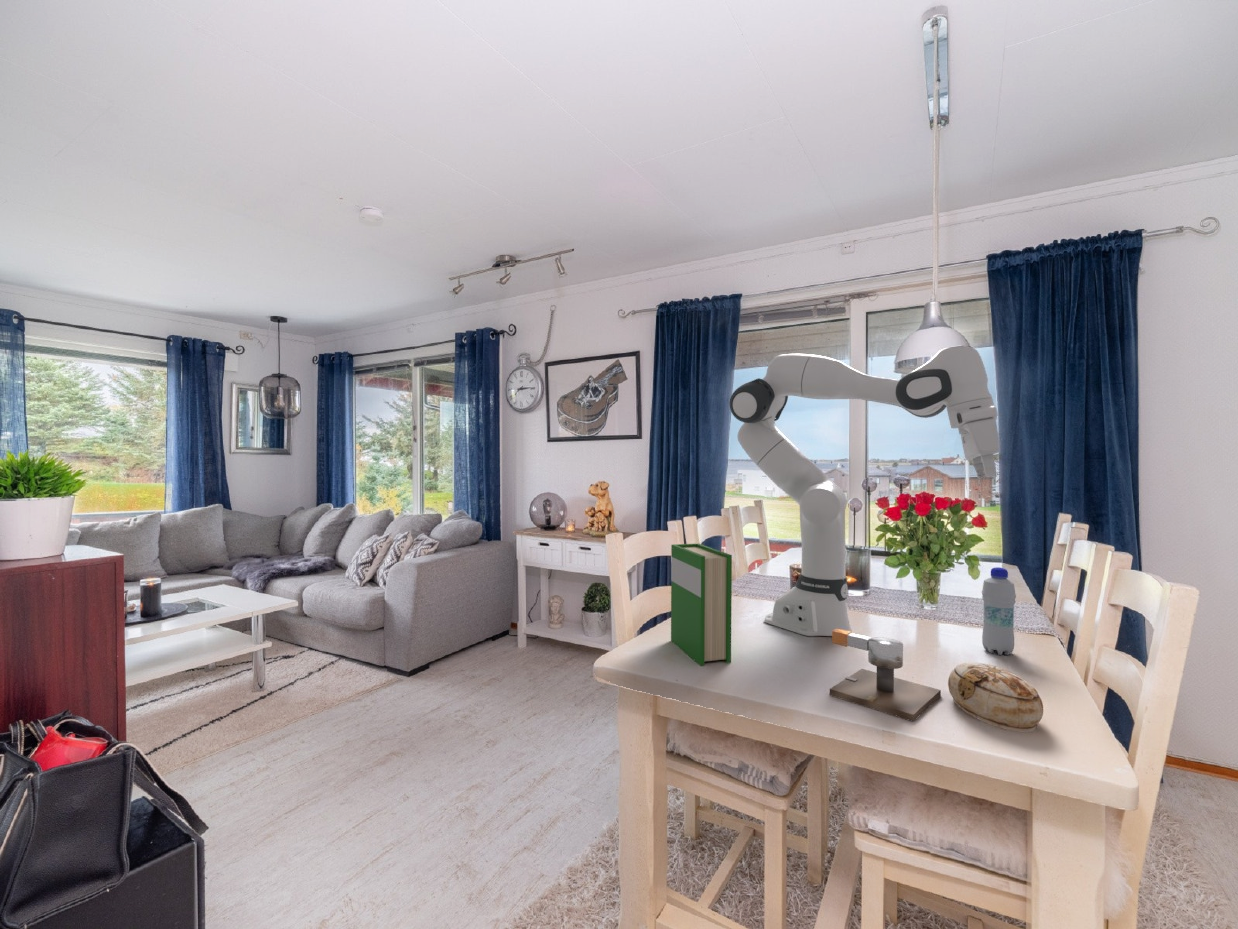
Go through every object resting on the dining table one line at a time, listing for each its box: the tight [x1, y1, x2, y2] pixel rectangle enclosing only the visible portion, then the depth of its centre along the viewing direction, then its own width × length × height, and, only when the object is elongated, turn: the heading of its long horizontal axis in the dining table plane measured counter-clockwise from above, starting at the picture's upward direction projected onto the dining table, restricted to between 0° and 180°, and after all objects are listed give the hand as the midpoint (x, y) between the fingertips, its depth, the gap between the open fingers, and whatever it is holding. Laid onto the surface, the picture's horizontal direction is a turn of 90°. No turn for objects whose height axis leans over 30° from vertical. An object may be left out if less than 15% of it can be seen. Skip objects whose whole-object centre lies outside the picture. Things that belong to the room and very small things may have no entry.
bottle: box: [981, 566, 1017, 656], centre depth 132 cm, size 7×7×20 cm
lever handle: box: [831, 629, 904, 670], centre depth 110 cm, size 13×6×4 cm, turn 44°
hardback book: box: [670, 543, 733, 667], centre depth 132 cm, size 18×7×24 cm, turn 16°
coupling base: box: [829, 666, 942, 722], centre depth 107 cm, size 15×15×6 cm
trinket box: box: [947, 662, 1044, 733], centre depth 101 cm, size 13×15×8 cm
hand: (986, 477), depth 122 cm, fingers open, 8 cm apart
